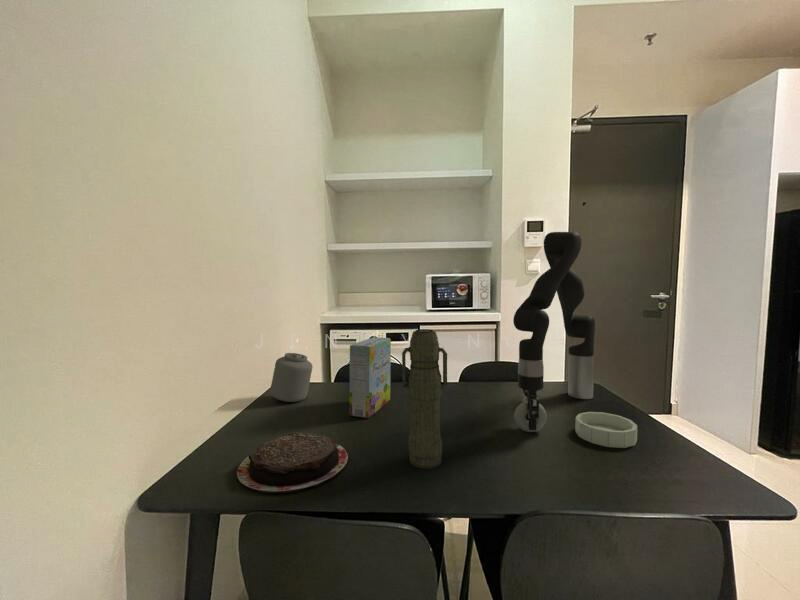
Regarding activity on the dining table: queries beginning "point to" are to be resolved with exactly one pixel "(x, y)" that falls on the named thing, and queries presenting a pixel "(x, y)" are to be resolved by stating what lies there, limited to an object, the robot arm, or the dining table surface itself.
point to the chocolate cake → (292, 463)
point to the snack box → (369, 376)
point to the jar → (291, 377)
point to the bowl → (606, 429)
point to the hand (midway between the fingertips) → (530, 425)
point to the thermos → (424, 398)
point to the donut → (524, 424)
